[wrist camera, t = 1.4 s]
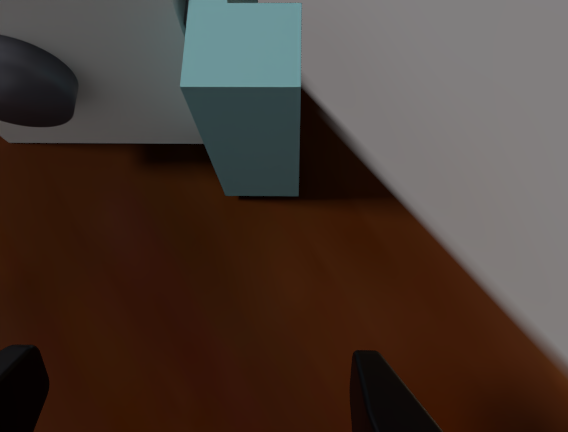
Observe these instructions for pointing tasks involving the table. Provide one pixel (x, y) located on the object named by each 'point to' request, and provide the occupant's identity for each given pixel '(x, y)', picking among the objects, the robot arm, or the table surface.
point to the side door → (246, 92)
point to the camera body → (94, 72)
